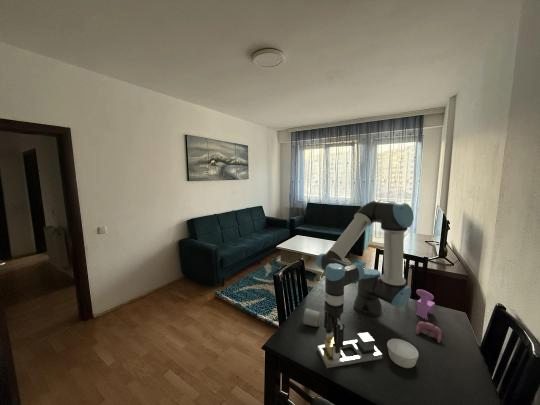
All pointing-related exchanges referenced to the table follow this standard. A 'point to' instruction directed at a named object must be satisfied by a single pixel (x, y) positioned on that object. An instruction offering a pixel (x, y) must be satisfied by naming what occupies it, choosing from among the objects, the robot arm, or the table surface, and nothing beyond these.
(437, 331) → the video game controller
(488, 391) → the table surface
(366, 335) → the grey rectangular block
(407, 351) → the ramekin
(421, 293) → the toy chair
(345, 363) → the white flat slotted board
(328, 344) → the yellow rectangular block
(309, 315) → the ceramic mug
